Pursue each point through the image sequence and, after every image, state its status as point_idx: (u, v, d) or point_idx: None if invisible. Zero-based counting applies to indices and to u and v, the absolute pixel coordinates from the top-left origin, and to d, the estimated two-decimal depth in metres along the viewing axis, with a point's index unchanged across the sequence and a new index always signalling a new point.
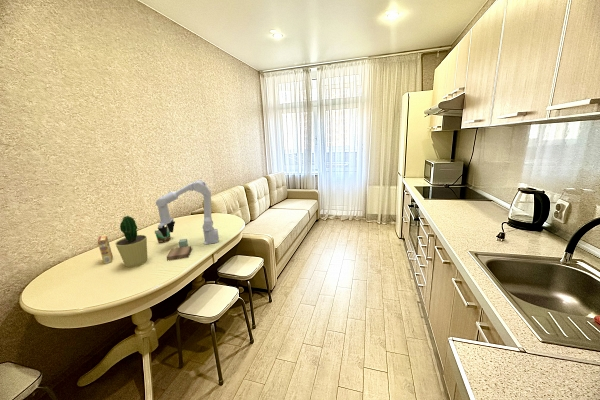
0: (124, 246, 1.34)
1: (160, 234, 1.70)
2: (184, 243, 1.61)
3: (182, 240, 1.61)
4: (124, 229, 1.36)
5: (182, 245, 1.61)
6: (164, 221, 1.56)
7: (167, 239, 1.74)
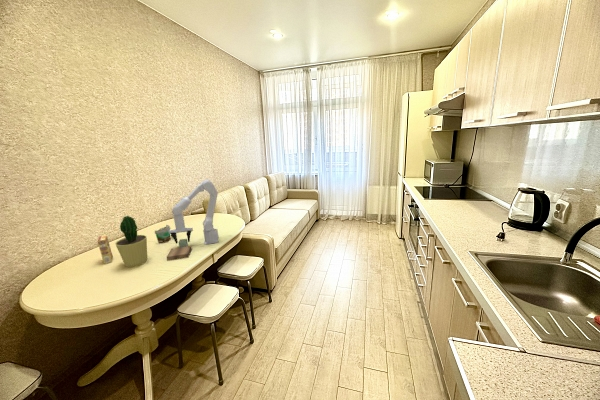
0: (124, 246, 1.34)
1: (160, 234, 1.70)
2: (184, 243, 1.61)
3: (182, 240, 1.61)
4: (124, 229, 1.36)
5: (182, 245, 1.61)
6: (175, 229, 1.59)
7: (167, 239, 1.74)
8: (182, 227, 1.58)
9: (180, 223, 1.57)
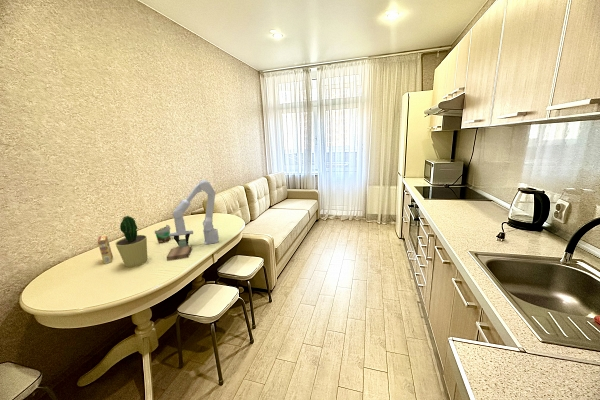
0: (124, 246, 1.34)
1: (160, 234, 1.70)
2: (184, 243, 1.61)
3: (182, 240, 1.61)
4: (124, 229, 1.36)
5: (182, 245, 1.61)
6: (176, 232, 1.59)
7: (167, 239, 1.74)
8: (183, 230, 1.59)
9: (181, 226, 1.58)
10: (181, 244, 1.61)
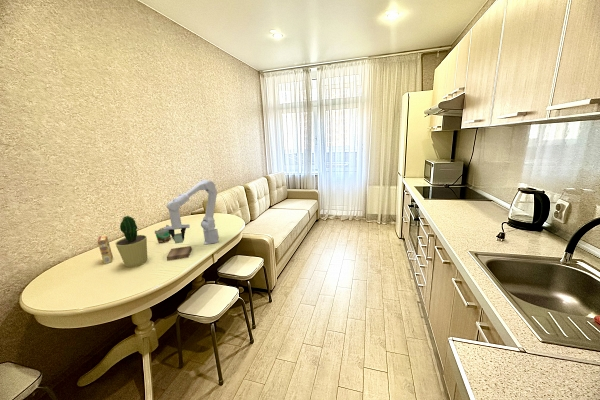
0: (124, 246, 1.34)
1: (160, 234, 1.70)
2: (180, 237, 1.53)
3: (178, 235, 1.53)
4: (124, 229, 1.36)
5: (178, 239, 1.52)
6: None
7: (167, 239, 1.74)
8: (178, 224, 1.50)
9: (178, 219, 1.50)
10: (177, 239, 1.52)
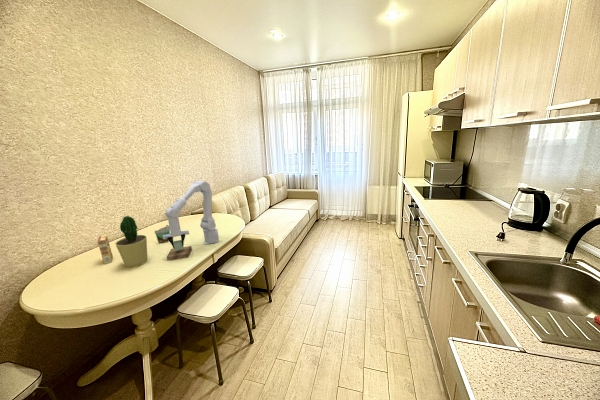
0: (124, 246, 1.34)
1: (160, 234, 1.70)
2: (180, 244, 1.49)
3: (178, 242, 1.49)
4: (124, 229, 1.36)
5: (178, 247, 1.49)
6: (170, 233, 1.47)
7: (167, 239, 1.74)
8: (178, 230, 1.47)
9: (178, 226, 1.46)
10: (177, 246, 1.49)
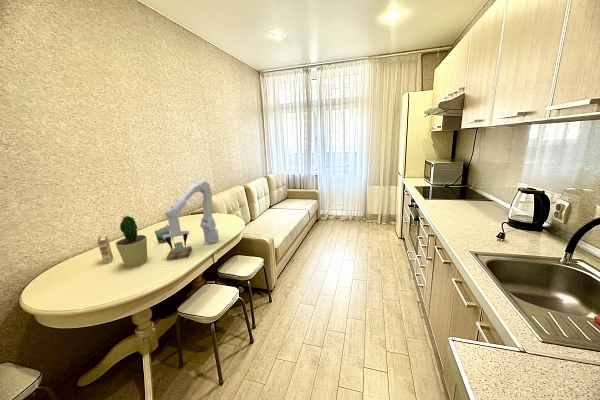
0: (124, 246, 1.34)
1: (160, 234, 1.70)
2: (180, 246, 1.50)
3: (178, 244, 1.50)
4: (124, 229, 1.36)
5: (178, 249, 1.50)
6: (170, 233, 1.47)
7: None
8: (178, 230, 1.47)
9: (178, 226, 1.47)
10: (177, 248, 1.49)
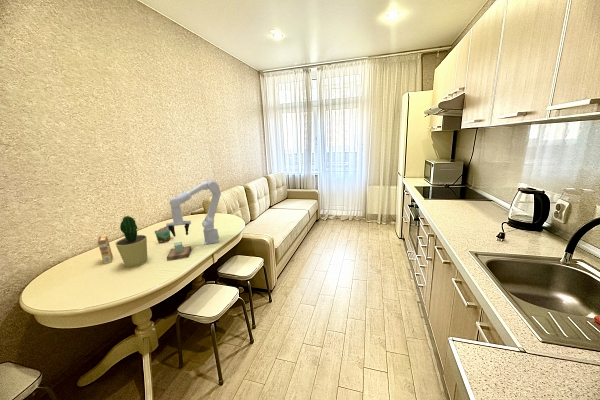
0: (124, 246, 1.34)
1: (160, 234, 1.70)
2: (180, 246, 1.50)
3: (178, 244, 1.50)
4: (124, 229, 1.36)
5: (178, 249, 1.49)
6: (173, 221, 1.55)
7: (167, 239, 1.74)
8: (180, 220, 1.55)
9: (178, 215, 1.54)
10: (177, 248, 1.49)
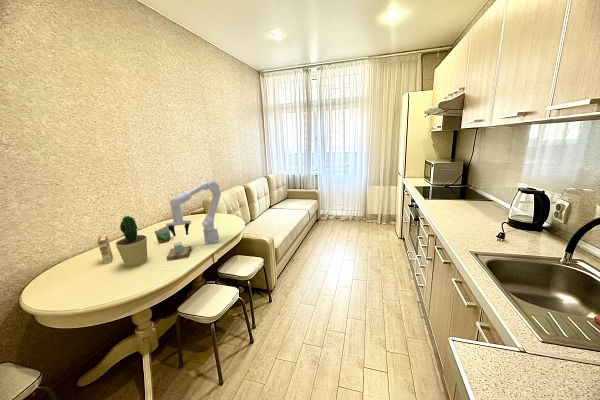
0: (124, 246, 1.34)
1: (160, 234, 1.70)
2: (180, 247, 1.50)
3: (178, 244, 1.50)
4: (124, 229, 1.36)
5: (178, 249, 1.49)
6: None
7: (167, 239, 1.74)
8: (180, 220, 1.55)
9: (178, 215, 1.54)
10: (177, 248, 1.49)
